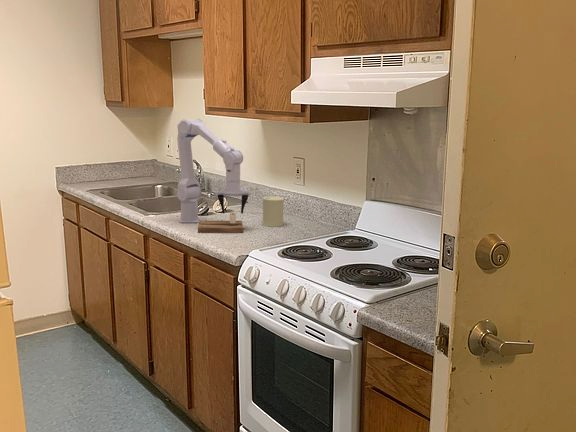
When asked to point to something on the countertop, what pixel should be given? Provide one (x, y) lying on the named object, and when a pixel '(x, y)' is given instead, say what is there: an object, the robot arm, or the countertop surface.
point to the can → (273, 211)
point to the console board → (219, 227)
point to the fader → (232, 218)
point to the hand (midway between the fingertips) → (232, 213)
